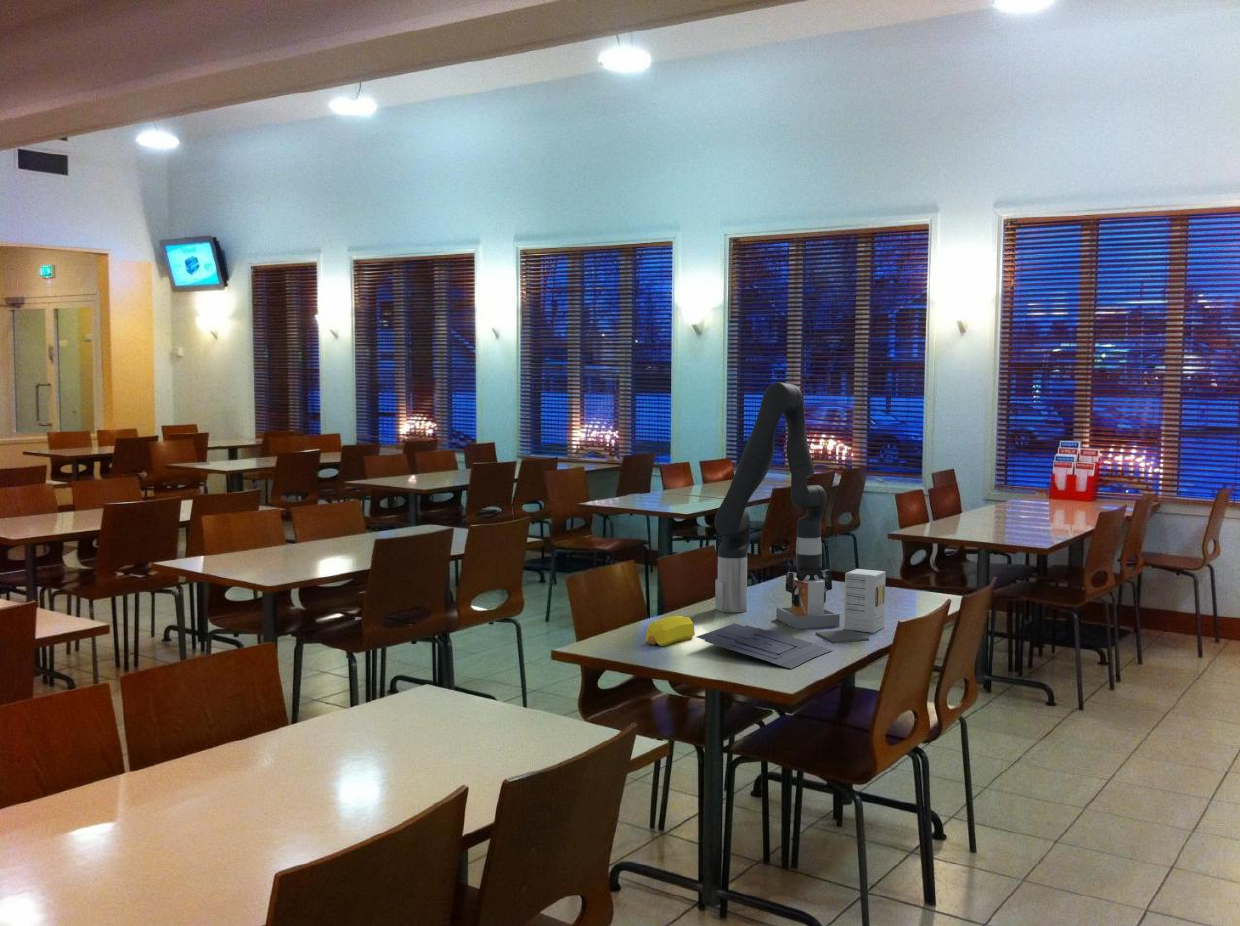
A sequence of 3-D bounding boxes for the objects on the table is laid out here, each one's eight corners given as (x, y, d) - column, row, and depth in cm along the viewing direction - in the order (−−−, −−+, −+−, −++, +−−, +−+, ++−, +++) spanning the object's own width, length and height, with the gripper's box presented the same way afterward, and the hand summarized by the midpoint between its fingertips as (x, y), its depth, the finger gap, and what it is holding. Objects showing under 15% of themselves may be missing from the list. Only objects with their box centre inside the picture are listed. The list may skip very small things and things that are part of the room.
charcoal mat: (833, 642, 304) (833, 640, 304) (815, 634, 314) (815, 632, 314) (869, 640, 307) (869, 638, 307) (850, 631, 317) (850, 629, 317)
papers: (736, 631, 313) (738, 618, 312) (832, 659, 296) (833, 646, 295) (690, 648, 293) (691, 635, 293) (789, 679, 276) (791, 665, 276)
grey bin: (796, 628, 321) (796, 617, 320) (776, 618, 334) (776, 607, 334) (839, 625, 325) (839, 614, 324) (818, 616, 338) (818, 604, 338)
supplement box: (874, 633, 315) (874, 575, 314) (843, 629, 320) (844, 572, 319) (885, 627, 323) (886, 570, 322) (855, 623, 328) (856, 567, 327)
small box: (790, 621, 331) (791, 578, 330) (807, 618, 334) (808, 576, 333) (807, 626, 324) (808, 582, 323) (824, 624, 327) (825, 580, 326)
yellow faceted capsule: (638, 645, 303) (660, 649, 297) (639, 621, 302) (660, 625, 297) (680, 633, 316) (701, 638, 311) (680, 611, 315) (701, 614, 310)
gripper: (792, 555, 322) (792, 609, 323) (836, 552, 326) (836, 606, 327) (781, 551, 329) (781, 604, 330) (824, 548, 333) (824, 601, 335)
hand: (808, 605), depth 329 cm, fingers open, 8 cm apart
